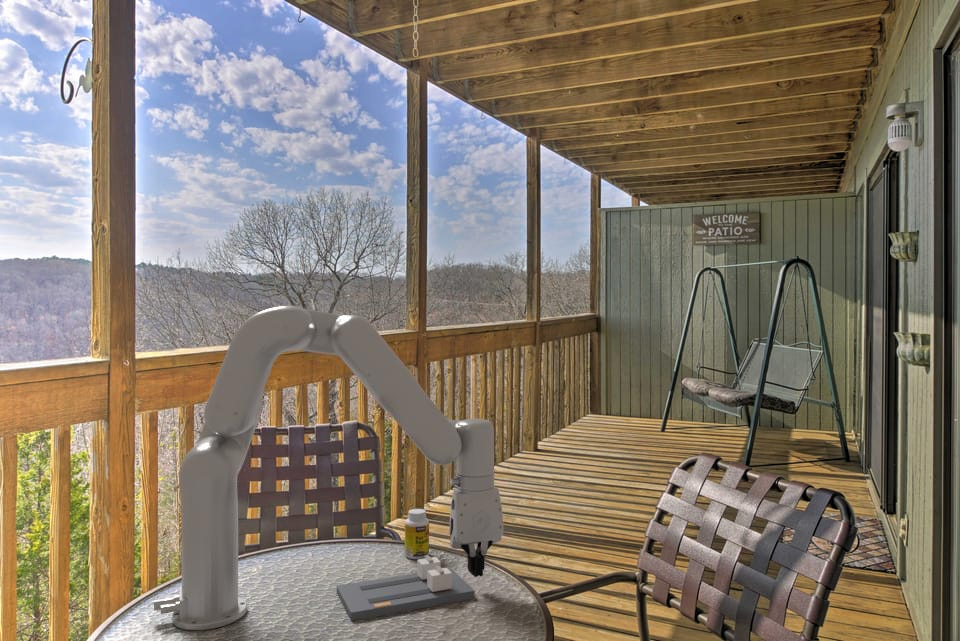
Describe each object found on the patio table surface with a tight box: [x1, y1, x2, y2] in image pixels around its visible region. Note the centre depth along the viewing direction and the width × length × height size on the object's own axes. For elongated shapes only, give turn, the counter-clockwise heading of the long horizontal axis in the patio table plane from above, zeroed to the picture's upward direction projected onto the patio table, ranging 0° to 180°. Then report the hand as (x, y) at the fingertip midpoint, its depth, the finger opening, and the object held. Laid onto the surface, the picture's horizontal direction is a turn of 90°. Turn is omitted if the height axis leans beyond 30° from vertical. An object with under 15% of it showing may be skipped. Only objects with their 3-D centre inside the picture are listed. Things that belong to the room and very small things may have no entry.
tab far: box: [416, 554, 442, 580], centre depth 133 cm, size 4×3×4 cm
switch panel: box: [336, 567, 476, 622], centre depth 128 cm, size 24×13×2 cm, turn 114°
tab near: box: [427, 566, 452, 592], centre depth 127 cm, size 4×3×4 cm
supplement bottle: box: [404, 508, 430, 560], centre depth 150 cm, size 6×6×10 cm
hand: (476, 573), depth 130 cm, fingers closed
